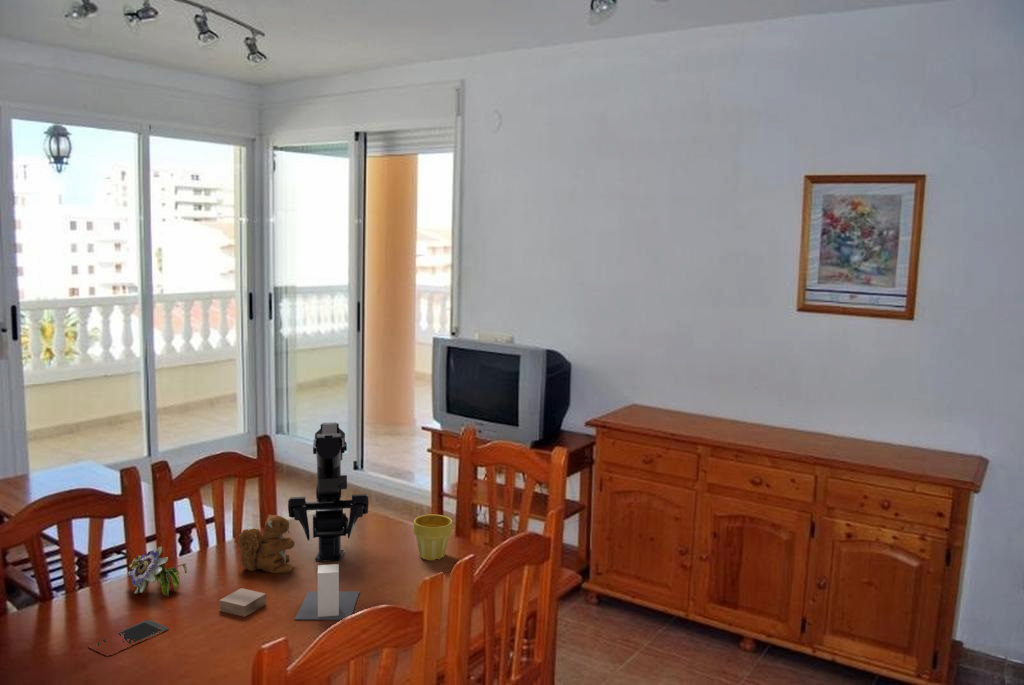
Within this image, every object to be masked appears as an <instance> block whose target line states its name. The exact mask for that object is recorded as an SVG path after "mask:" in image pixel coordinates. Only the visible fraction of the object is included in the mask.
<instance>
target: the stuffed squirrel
mask: <svg viewBox="0 0 1024 685" xmlns="http://www.w3.org/2000/svg"><path fill="white" fill-rule="evenodd" d="M289 528H290V521H289V520H288V519H287V518H285V517H283V516H281V515H278V514H277V515H275V514H273V515H272V514H267V516H266V519H265V523H264V532H263V534H262V533H261V531H260V529H259V528H249V529H246V528H245V529H243V530H242V531H241V533H239V534H238V537H239V538H238V539H237V543H238V547H239V549H240V551H239V553H240V556H241V560H240V563H241V565H242V566H243V568H245V569H247V570H248V571H250V572H254V571H256V570H262V571H264V572H267V573H270V574H282V573H283V574H285V573H291V571H292V568H293V567H292V566H291V564H289V563H286V562H287V560H289V559H290V554H288V553H286V550H287V551H288V550H290V549H293V548H294V547H295V544H296V543H295V541H294V539H293V538H292V537H290V536H283V535H285V534H286V533H288V534H290V531H289Z"/></svg>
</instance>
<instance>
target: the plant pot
mask: <svg viewBox="0 0 1024 685" xmlns="http://www.w3.org/2000/svg"><path fill="white" fill-rule="evenodd" d="M412 528H413V534H414V536H416V543H417V548H418V554H419V555H418V556H419V557H420V558H421V559H422V558H423V560H425V559H426V560H425V561H436V560H435V559H439V560H441V559H440V558H442V557H443V558H444V557H445V556H446V550H447V547H448V542H449V538H450V536H451V535H452V533H453V520H452V519H451V517H449V516H446V515H442V514H423V515H419V516H417V517H415V519H414V520H413V526H412ZM443 558H442V559H443Z"/></svg>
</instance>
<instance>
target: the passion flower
mask: <svg viewBox="0 0 1024 685" xmlns="http://www.w3.org/2000/svg"><path fill="white" fill-rule="evenodd" d="M162 553H163V547H162V546H161V545H160V546H158V547H157V549H156V550H154V549H153V550H149V551H148V552H145V554H142V555H136V556H135V557H134V558H133V559H132V561H131V562H130V565H129V568H130V569H129V571H128V572H127V574H128V575H129V578H130V580H131V584H132V585H133V586H132V587H133V588H136V589H135V590H134V592H133V594H135V595H138V594H139V593H141V594H142V593H144V592H146V590H147V588H148V586H149V583H150V584H152V583H153V584H154V583H155V582H156V581H157V583H158V584H159V586H160V589H161V593H162V595H163V596H166V597H169V596H170V594H169V593H170V588H171V585H170V584H172V586H173V589H174V591H177V589H178V587H179V585H180V577H179V575H180V572H179V570H177V569H176V568H178V567H183V569H184V573H185V574H187V573H188V570H187V565H186V564H187V563H181V564H180V565H176V566H174V567H173V566H172V567H169V568H166V565H165V564H166V563H167V562H168V561H169V558H168V556H163V557H160V556H161V555H162Z"/></svg>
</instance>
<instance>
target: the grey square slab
mask: <svg viewBox="0 0 1024 685" xmlns="http://www.w3.org/2000/svg"><path fill="white" fill-rule="evenodd" d="M266 596H267V593H264V592H260V591H256V590H251V589H247V588H243V587H242V588H241V587H240V588H238V589H236V590H235V591H233V592H232V593H229V594H228V595H227V596H224V597H223V598H221V599H219V612H224V613H227V614H231V615H235V616H240V617H244V618H245V617H247V616H248V615H251V614H252V613H254V612H255V611H257V610H259V609H260V608H263V607H264V606H266V604H267V597H266Z"/></svg>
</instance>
